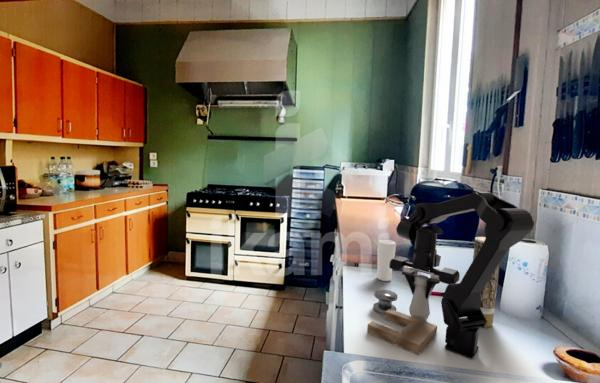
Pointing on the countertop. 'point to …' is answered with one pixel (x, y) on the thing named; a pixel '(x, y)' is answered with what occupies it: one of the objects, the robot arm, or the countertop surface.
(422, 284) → the salt shaker
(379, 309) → the spool
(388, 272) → the drinking glass
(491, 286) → the wooden log
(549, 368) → the countertop surface
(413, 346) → the notched board
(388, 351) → the countertop surface
